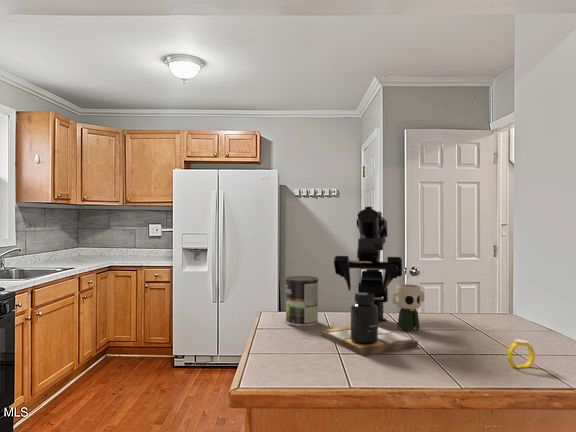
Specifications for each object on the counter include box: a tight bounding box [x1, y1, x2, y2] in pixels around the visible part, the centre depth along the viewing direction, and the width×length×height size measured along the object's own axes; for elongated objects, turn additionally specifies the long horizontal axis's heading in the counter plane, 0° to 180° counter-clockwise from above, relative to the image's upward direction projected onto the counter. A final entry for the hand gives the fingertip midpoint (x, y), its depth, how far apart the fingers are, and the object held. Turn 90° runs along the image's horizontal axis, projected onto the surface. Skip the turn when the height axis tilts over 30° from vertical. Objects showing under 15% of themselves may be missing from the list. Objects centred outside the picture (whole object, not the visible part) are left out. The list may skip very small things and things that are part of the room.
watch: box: [506, 338, 536, 369], centre depth 100 cm, size 6×3×6 cm, turn 101°
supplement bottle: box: [350, 292, 379, 344], centre depth 115 cm, size 7×7×12 cm
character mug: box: [391, 283, 425, 331], centre depth 134 cm, size 11×7×13 cm, turn 109°
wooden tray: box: [320, 325, 419, 357], centre depth 121 cm, size 17×20×2 cm
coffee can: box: [285, 275, 319, 327], centre depth 143 cm, size 10×10×14 cm
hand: (366, 290), depth 122 cm, fingers open, 9 cm apart
